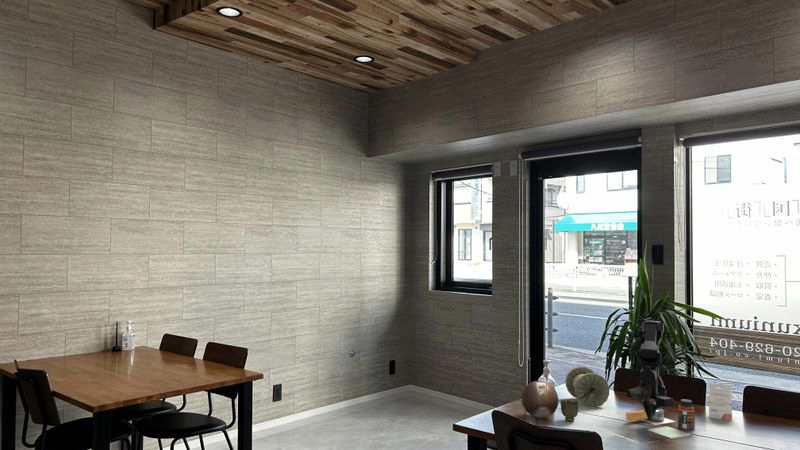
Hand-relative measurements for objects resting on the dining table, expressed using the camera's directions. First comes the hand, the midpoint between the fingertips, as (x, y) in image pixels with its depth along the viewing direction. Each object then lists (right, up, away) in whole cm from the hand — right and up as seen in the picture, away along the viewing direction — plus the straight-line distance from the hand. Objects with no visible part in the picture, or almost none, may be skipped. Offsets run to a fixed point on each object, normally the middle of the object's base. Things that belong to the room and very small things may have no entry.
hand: (649, 419), depth 228 cm
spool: (-13, -5, +38) cm, 40 cm away
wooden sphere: (-40, -4, +13) cm, 43 cm away
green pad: (+4, -3, -7) cm, 9 cm away
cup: (-29, -4, +8) cm, 31 cm away
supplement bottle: (+14, -4, -1) cm, 14 cm away
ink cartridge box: (+36, -5, +15) cm, 39 cm away
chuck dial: (+1, -3, +8) cm, 9 cm away
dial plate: (+6, -4, +10) cm, 13 cm away
